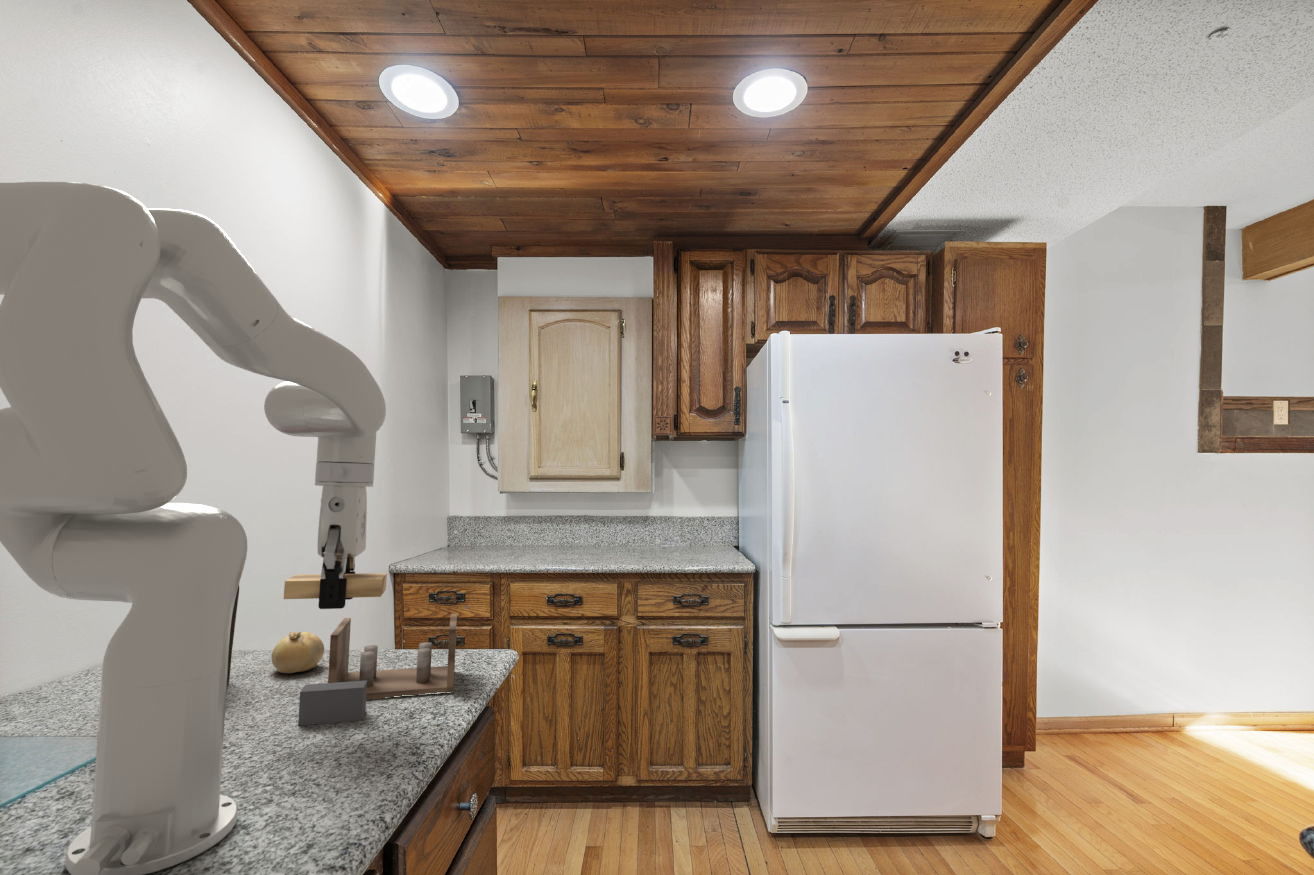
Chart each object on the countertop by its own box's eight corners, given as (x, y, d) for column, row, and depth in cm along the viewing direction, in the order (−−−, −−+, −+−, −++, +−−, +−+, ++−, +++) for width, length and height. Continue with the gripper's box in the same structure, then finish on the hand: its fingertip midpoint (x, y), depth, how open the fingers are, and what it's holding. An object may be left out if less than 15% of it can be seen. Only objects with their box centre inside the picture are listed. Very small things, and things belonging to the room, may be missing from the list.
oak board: (380, 596, 87) (381, 579, 87) (283, 599, 83) (284, 581, 83) (385, 589, 92) (386, 573, 93) (295, 591, 89) (296, 574, 89)
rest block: (362, 720, 87) (363, 687, 87) (298, 725, 85) (299, 691, 85) (365, 711, 90) (367, 680, 90) (303, 716, 88) (305, 684, 88)
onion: (265, 669, 108) (268, 627, 108) (316, 660, 113) (318, 621, 113) (276, 681, 102) (278, 637, 102) (329, 671, 107) (331, 630, 107)
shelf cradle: (453, 693, 98) (455, 629, 99) (326, 702, 93) (330, 635, 93) (454, 671, 109) (456, 613, 109) (341, 678, 103) (344, 618, 104)
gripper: (364, 476, 82) (355, 615, 80) (381, 477, 98) (374, 592, 97) (300, 474, 80) (290, 617, 78) (328, 475, 96) (320, 593, 95)
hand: (336, 602), depth 88 cm, fingers closed on oak board, 6 cm apart
